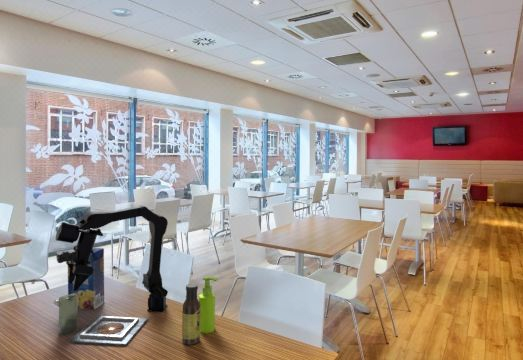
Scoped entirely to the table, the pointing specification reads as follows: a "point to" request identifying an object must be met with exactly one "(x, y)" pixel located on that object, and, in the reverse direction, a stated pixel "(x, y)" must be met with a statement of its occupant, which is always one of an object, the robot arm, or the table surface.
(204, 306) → the soap dispenser
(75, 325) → the spout can
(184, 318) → the sauce bottle
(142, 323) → the port plate
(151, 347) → the table surface
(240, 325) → the table surface
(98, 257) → the juice carton
